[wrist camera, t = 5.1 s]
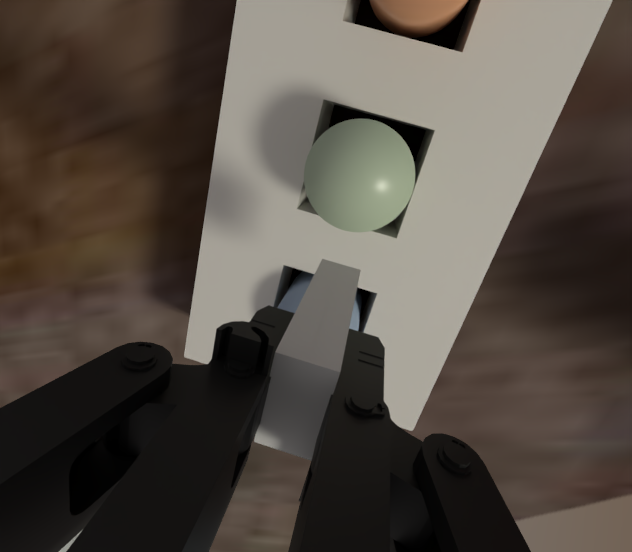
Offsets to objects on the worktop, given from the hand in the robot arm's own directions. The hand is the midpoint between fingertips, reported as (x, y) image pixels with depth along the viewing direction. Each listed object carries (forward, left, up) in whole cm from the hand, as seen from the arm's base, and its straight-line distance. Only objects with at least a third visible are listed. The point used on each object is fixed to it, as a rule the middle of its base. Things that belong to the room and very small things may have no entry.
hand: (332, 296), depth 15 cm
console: (-4, 0, -9) cm, 10 cm away
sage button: (-4, 0, -6) cm, 8 cm away
